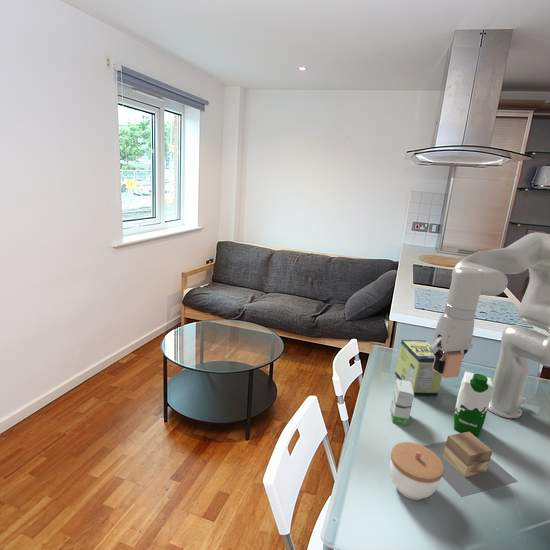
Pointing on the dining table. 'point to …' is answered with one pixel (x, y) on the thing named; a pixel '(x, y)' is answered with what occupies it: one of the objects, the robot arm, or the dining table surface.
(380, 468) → the dining table surface
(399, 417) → the ink box
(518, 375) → the robot arm
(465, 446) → the walnut slab
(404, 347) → the protein box
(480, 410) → the milk carton
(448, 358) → the terracotta block
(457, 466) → the oak slab
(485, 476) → the rubber mat
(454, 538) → the dining table surface
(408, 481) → the lidded bowl
